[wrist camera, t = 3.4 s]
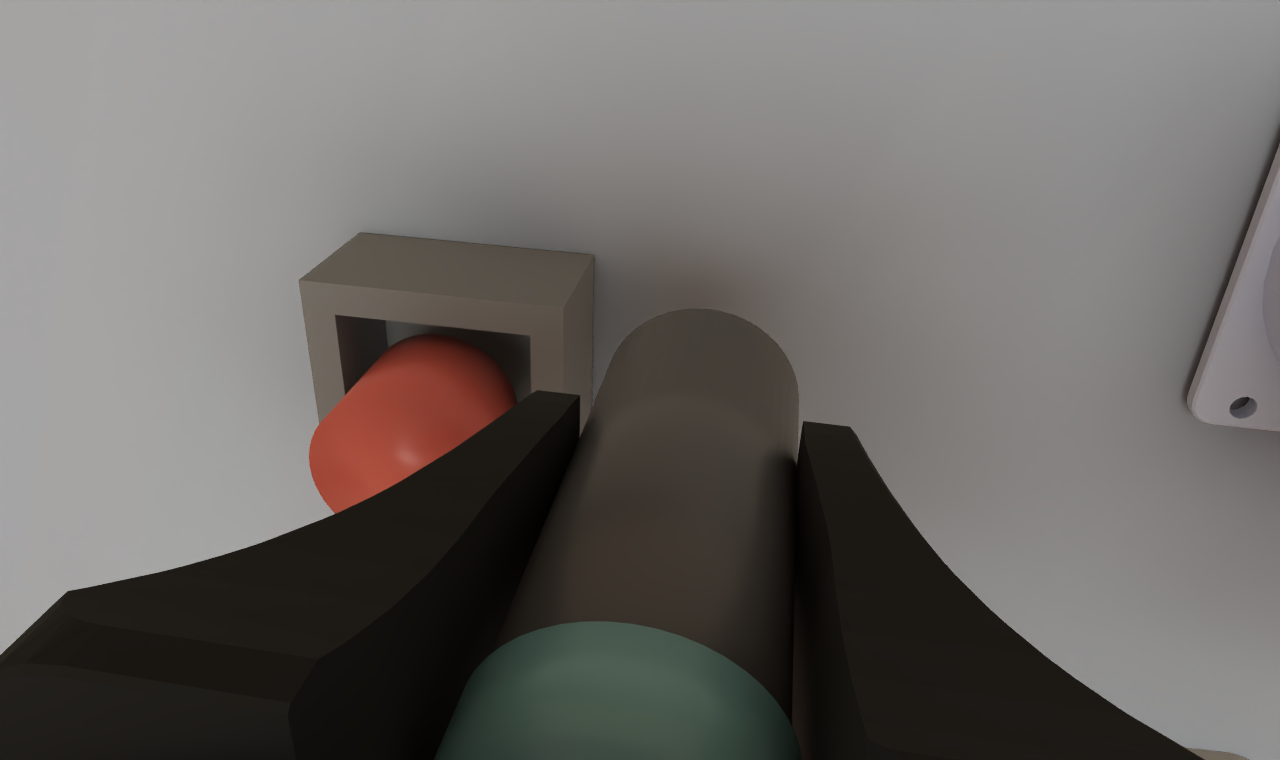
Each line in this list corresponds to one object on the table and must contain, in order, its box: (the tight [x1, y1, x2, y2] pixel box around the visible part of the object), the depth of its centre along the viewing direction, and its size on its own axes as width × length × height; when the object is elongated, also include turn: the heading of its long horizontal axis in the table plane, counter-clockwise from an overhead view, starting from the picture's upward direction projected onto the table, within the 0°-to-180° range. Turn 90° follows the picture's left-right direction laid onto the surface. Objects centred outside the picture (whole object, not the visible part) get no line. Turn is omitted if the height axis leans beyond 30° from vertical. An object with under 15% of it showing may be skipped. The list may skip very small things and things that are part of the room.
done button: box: [309, 334, 518, 514], centre depth 19 cm, size 3×3×3 cm
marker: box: [434, 309, 802, 760], centre depth 11 cm, size 3×3×8 cm
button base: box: [299, 233, 594, 436], centre depth 22 cm, size 6×6×3 cm
